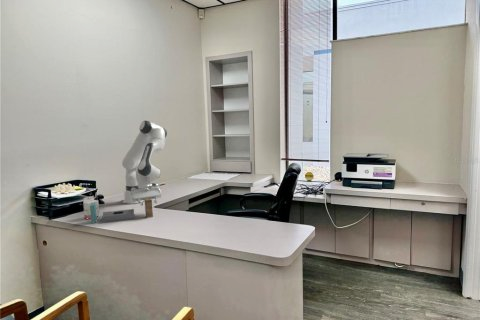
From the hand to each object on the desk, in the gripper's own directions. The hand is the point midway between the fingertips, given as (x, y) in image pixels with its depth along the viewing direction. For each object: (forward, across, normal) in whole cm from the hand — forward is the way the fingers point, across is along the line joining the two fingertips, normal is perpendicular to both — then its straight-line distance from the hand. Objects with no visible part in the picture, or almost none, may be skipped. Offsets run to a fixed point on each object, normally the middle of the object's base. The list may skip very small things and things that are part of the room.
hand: (149, 203), depth 227 cm
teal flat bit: (0, -35, +12) cm, 37 cm away
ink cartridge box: (-8, -36, +20) cm, 41 cm away
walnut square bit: (+7, -1, +5) cm, 9 cm away
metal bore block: (+1, -20, +10) cm, 22 cm away
